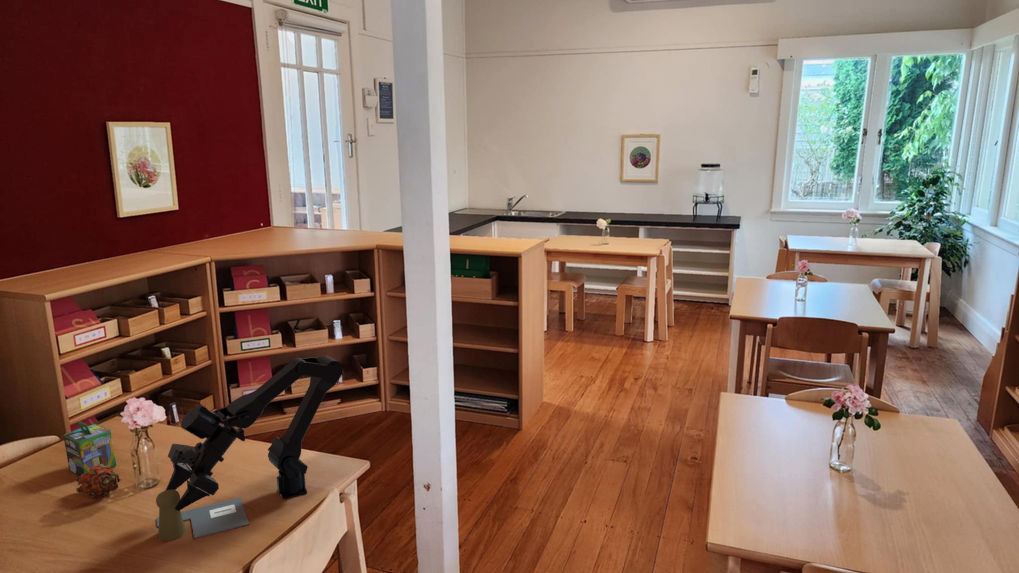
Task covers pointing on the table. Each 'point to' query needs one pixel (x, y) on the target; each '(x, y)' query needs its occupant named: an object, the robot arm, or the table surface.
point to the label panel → (215, 517)
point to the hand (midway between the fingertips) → (171, 501)
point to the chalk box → (89, 448)
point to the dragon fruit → (98, 481)
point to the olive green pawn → (169, 516)
